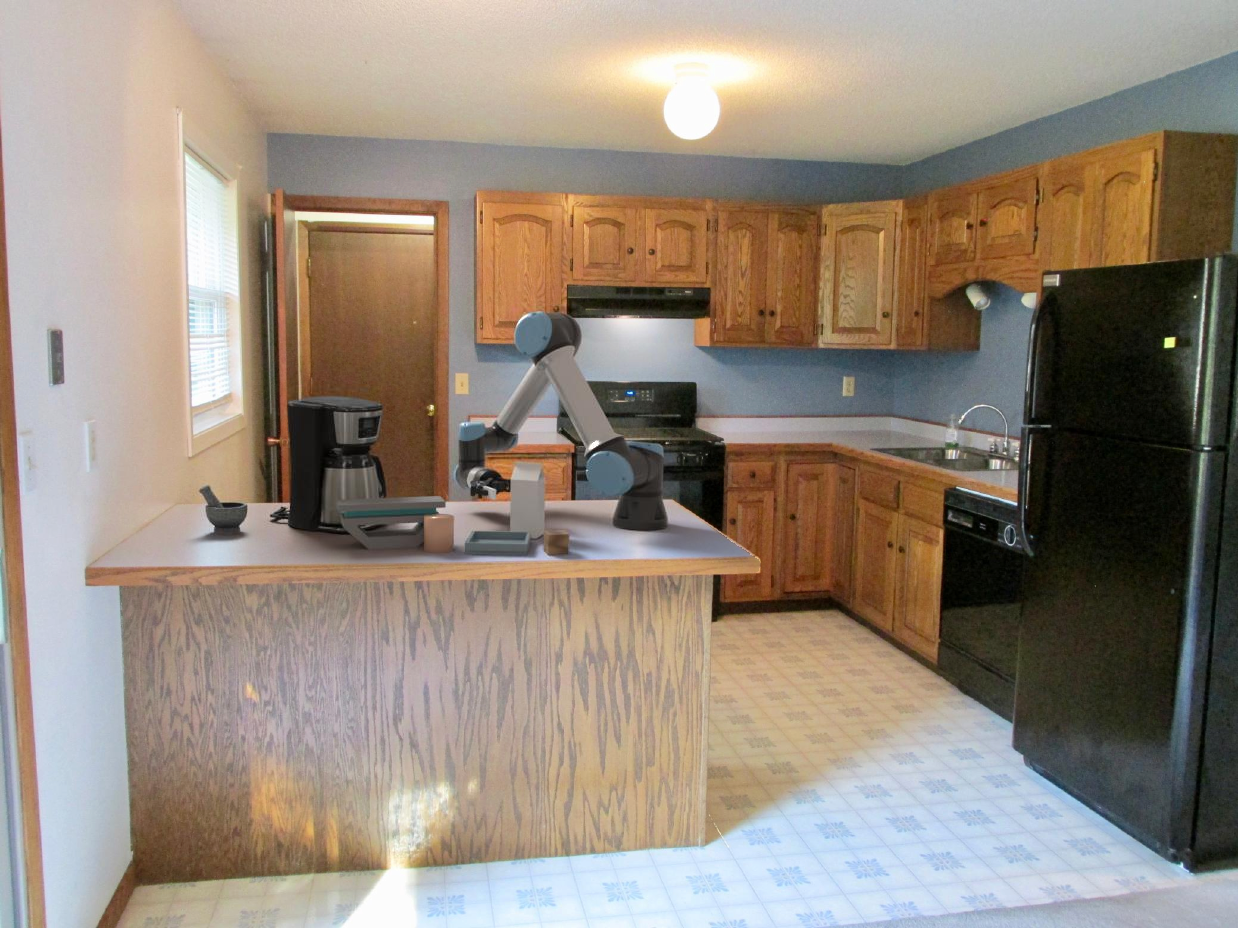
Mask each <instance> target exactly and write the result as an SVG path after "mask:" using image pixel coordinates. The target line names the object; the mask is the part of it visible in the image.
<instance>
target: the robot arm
mask: <svg viewBox="0 0 1238 928" xmlns="http://www.w3.org/2000/svg"><path fill="white" fill-rule="evenodd" d="M582 337H583V336H582V328H581V327H580V324H579V323H578V322H577V320H576V319H575V318H574V317H573V316H571V315H569V314H567V313H564V312H563V313H562V312H544V311H536V312H528V313H526V314H524V315H523V316H522V317H521V318H520V319H519V320H518V321H517V323H516V326H515V331H514V333H513V340H514V344H515V347H516V349H517V350H518V351H519V353H521V355H524V356H525V357H528V358H530V359H531V360H532V362H533V364H532V365H531V366H530V367H529V370H528V371H527V372H526V373H525V376H523V379H522V380H521V382H520V383H519V384H518V386H517V388H516V389H515V391H514V392H513V393H512V395H511V397H510V398H509V400H508V401H507V403H506V404H505V405H504V407H503V409H502V410H501V412H500V414H499V415H498V416H497V418H496V419H495V421H494V422H493V423H492V425H491V426H489V427H488V426H487V427H486V424H485V423H484V422H482V421H463V422H461V423H460V424H459V428H458V437H457V439H458V462H457V463H458V464H457V465H455V468H454V470H453V475H452V477H453V480H454V482H455V483H456V485H458V486H459V487H460V488H462V489H464V490H467V491H470V494H469V495H470V497H475V496H476V495H477V499H479V500H483V497H484V498H486V499H489V500H492V501H497V495H498V494H499V493H511V478H504V477H503V476H502V475H501V473H500V472H498V471H497V470H494V469H491V468H488V467H486V454H491V453H498V452H499V453H501V452H506V451H508V450H509V451H510V450H513V449H514V448H516V446H517V445H518V443H519V432H520V430H521V429H522V428H523V426H524V425H525V423H526V421H527V420H528V419H529V417H530V416H531V414H532V413H533V412H534V410H535V408H536V407H537V406H538V404H539V402H541V400H542V398H543V397H544V396H545V394H546V392H548V390H549V388H550V387H551V386H552V388H553V390H554V391H555V393H556V396H557V397H558V399H559V401H560V402H561V405H562V406H563V408H564V409H565V412H566V414H567V415H568V417H569V419H570V421H571V423H572V425H573V427H574V429H575V430H576V432H577V434H578V436H579V438H580V439H581V441H582V443H583V446H584V447H585V451H584V456H583V457H584V459H585V461H586V469H585V474H586V475H585V476H586V479H587V481H588V483H589V484H590V486H591V487H592V488H593V490H594V491H596V492H597V493H599V494H601V495H605V496H619V498H618V502H617V504H616V507H615V510H614V512H613V516H612V525H613V526H615V527H617V528H620V529H627V530H636V531H637V530H639V531H649V530H651V531H653V530H661V529H665V528H667V527H668V525H669V524H668V523H669V518H668V514H667V513H668V512H667V511H666V507H665V504H664V500H663V487H664V486H663V485H664V481H663V480H664V460H665V455H664V446H663V445H661V444H660V443H653V442H643V441H629V440H626V439H625V437H624V435H622V434H618V433H616V432H615V431H614V429H613V427H612V425H611V424H610V422H609V420H608V417H607V416H606V414H605V413H604V411H603V409H602V407H601V406H600V403H599V402H598V400H597V398H596V396H595V394H594V393H593V391H592V389H591V386H590V385H589V383H588V381H587V380H586V378H585V376H584V374H583V373H582V370H581V368H580V366H579V364H578V363H577V361H576V360H575V356H576V355H577V353H578V351H579V349H580V347H581V344H582V339H583V338H582Z"/></svg>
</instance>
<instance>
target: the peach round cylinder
mask: <svg viewBox="0 0 1238 928" xmlns="http://www.w3.org/2000/svg"><path fill="white" fill-rule="evenodd" d="M454 548H455V516H454V515H453V514H449V513H439V514H429V515H425V516H424V541H423V551H424V550H425V551H424V552H426V553H431V554H433V553H435V554H443V553H444V552H445V553H450V552H452V550H453V551H454V550H455V549H454ZM445 553H444V554H445Z"/></svg>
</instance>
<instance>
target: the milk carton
mask: <svg viewBox="0 0 1238 928" xmlns="http://www.w3.org/2000/svg"><path fill="white" fill-rule="evenodd" d="M512 470H513V471H512V474H511V477H510V479H511V492H510V503H509V504H510V506H509V507H510V508H509V510H510V512H509V513H510V514H509V517H510V518H509V519H510V520H509V522H510V523H509V531H518V532H531V539H538V538H539V537H541V536H542V535H544V531H545V520H546V519H545V518H546V517H545V515H546V513H545V512H546V511H545V508H546V505H545V504H546V475H545V472H544V469H543V463H542V462H526V461H525V462H524V461H514V468H513V469H512Z"/></svg>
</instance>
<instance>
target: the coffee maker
mask: <svg viewBox="0 0 1238 928" xmlns="http://www.w3.org/2000/svg"><path fill="white" fill-rule="evenodd" d="M286 408H287V409H286V410H287V425H288V426H287V427H288V439H289V440H288V443H289V455H290V458H289V459H290V460H289V461H290V490H289V506H280V508H279V509H278V510H276V511H273V513H270V514H269V517H270V518H272V519H273V518H274V519H281V520H287V525H288V526H290V527H291V528H296V529H300V530H305V531H310V532H311V531H312V532H317V531H319V532H326V533H327V532H329V533H334V534H335V533H336V534H341V535H345V534H350V533H349V532H348V531H347V530H346V529H344V527H343V525H342V523H341V513H345V512H339V511H338V509H337V507H336V500H340V499H369V498H387V486H386V485H387V484H386V479H385V472H384V469H383V466H382V462H381V460H380V457H379V456H377V455H374V454H371V453H370V451H372V446H373V445H375V444H376V443H377V442H378V439H379V434H380V429H381V424H382V419H383V412H384V409H383V408H384V407H383V404H381V403H380V402H377V401H374V400H369V399H365V398H364V399H363V398H356V397H348V396H338V395H326V396H325V395H323V396H311V397H302V398H299V399H293V400H289V401H288V402H287V403H286ZM287 509H288V510H287ZM383 525H384V524H376V525H359V526H360V527H361V528H362V529H363V530H364V531H369V530H373V529H375V528H378V527H381V526H383Z"/></svg>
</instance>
